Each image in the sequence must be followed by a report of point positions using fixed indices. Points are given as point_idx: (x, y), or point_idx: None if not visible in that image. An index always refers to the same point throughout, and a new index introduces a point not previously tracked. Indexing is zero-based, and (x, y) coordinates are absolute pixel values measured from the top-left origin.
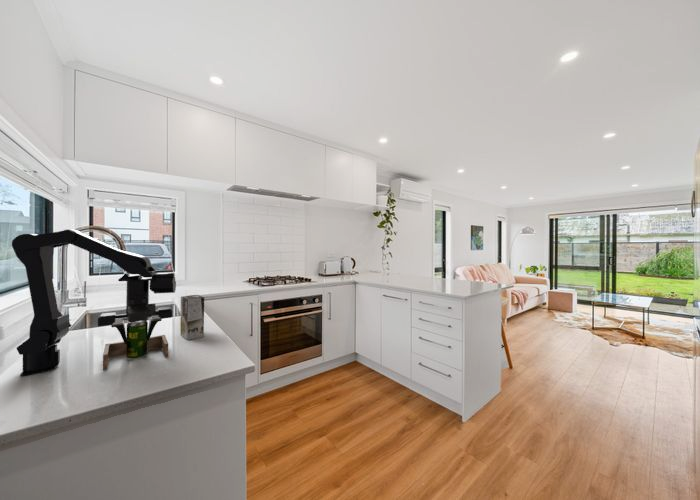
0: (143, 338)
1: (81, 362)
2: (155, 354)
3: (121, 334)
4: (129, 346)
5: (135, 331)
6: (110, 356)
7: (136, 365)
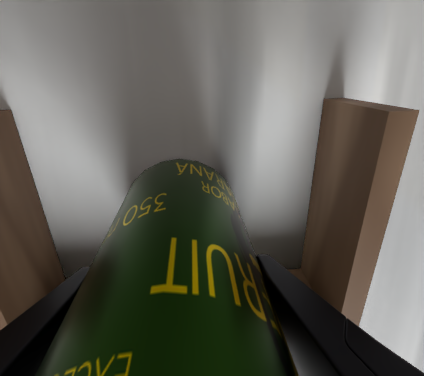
0: (110, 247)
1: (396, 269)
2: (85, 204)
3: (349, 323)
4: (231, 212)
5: (188, 317)
6: (297, 273)
7: (176, 55)
